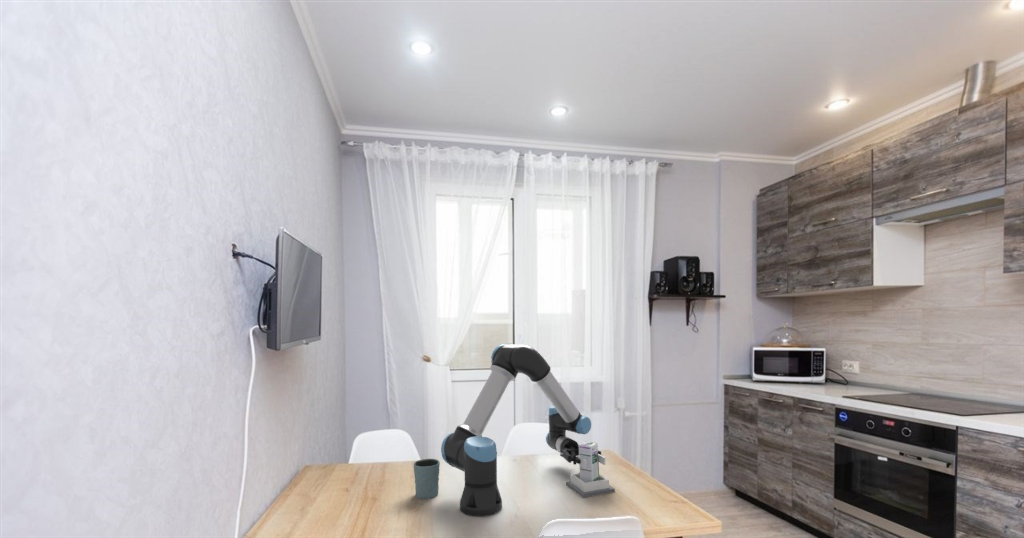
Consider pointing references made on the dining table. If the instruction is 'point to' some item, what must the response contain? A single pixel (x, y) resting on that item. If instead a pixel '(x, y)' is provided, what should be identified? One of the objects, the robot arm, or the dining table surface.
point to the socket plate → (589, 486)
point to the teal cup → (426, 478)
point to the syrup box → (589, 461)
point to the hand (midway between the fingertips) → (595, 462)
